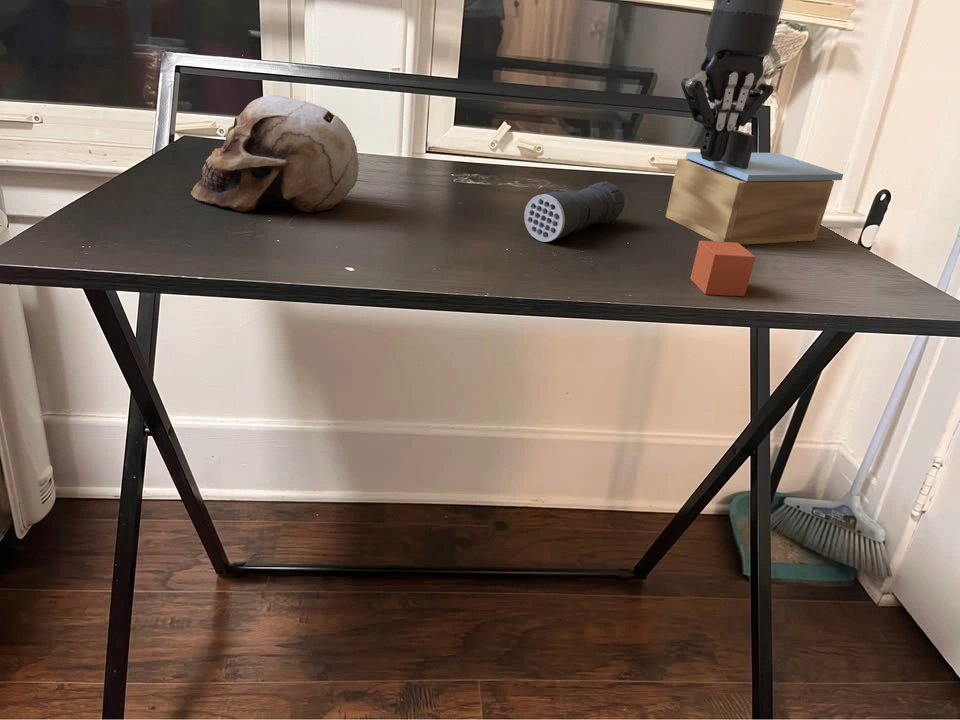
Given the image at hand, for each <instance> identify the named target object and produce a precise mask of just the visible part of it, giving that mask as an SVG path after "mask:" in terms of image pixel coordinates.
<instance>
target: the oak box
mask: <svg viewBox="0 0 960 720" xmlns="http://www.w3.org/2000/svg"><path fill="white" fill-rule="evenodd" d="M834 184H835V180H822V181H745V180H742V179H739V178H737V177H734V176H732V175H729V174H726V173H724V172H721V171H718V170H716V169H713V168H711V167H708V166H705V165H703V164H700V163H697V162H695V161H692V160H690V159H687V158H678V159H677V162H676V167H675V172H674V175H673V180H672V185H671V190H670V194H669V200H668V204H667V208H666V212H665V213H666V214H665V218H667V219H668V220H671V221H673V222H674V223H676V224H679V225H681V226H682V227H684V228H687V229H688V230H690V231H692V232H695V233H697V234H699V235H701V236H702V237H705V238H707V239H709V241H716V242H731V243H739V244H740V245H741V246H743V245H760V244H775V243H776V244H777V243H794V242H797V241H798V242H814V241H813V240H815V241H817V238H818V234H819V231H820V228H821V225H822V222H823V219H824V216H825V212H826V210H827V206H828V204H829V199H830V197H831V194H832V190H833V187H834Z"/></svg>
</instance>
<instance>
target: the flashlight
mask: <svg viewBox="0 0 960 720" xmlns="http://www.w3.org/2000/svg"><path fill="white" fill-rule="evenodd" d="M624 207H625V196H624V193H623V191H622V190H621V189H620V187H619V186H617V185H616V184H614V183H611V182H610V181H609V182H608V181H601V182H596V183H593V184H591V185H589V186H587V187H586V188H583V189H581V190H578V191H575V190H574V191H573V190H565V191H551V192H547V193H542V194H538V195H534V196H533V197H532V198H530V200H529V201H528V202H527V204H526V206H525V209H524V216H523V217H524V218H523V219H524V223H525V224H524V225H525V227H526V229H527V231H528V233H529V234H530V236H531V237H532V238H533V239H535V240H537V241H539V242H543V243H548V242H551V241H555V240H559V239H563V238H564V237H567V236H568V235H569V234H571V233H574V232H578V231H579V230H581V229H582V228H583V227H584V226H593V225H604V224H608V223H610V222H614V221H615V220H617V219H618V218H619V217H620V215H621V214H622V212H623V211H624Z"/></svg>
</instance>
